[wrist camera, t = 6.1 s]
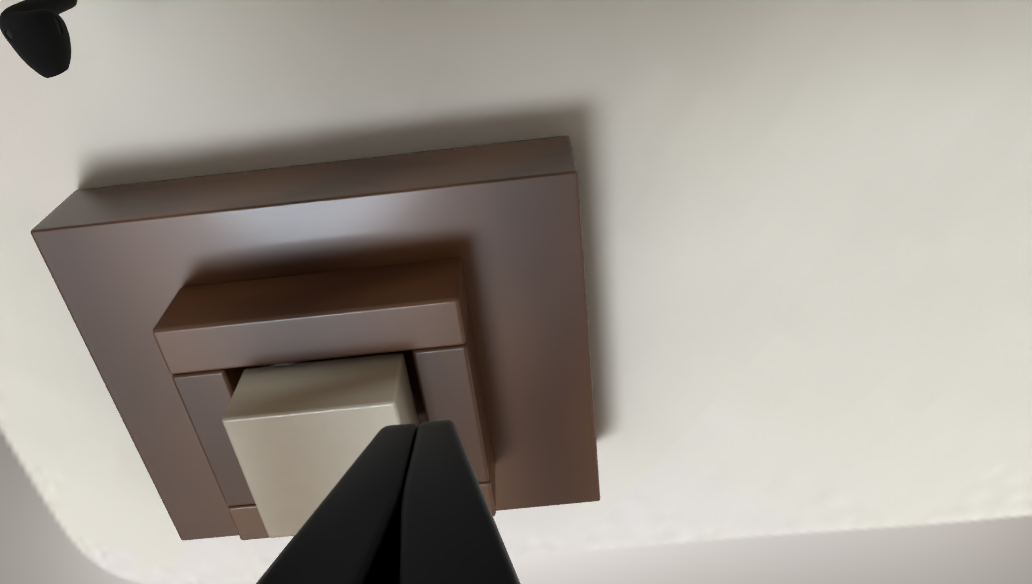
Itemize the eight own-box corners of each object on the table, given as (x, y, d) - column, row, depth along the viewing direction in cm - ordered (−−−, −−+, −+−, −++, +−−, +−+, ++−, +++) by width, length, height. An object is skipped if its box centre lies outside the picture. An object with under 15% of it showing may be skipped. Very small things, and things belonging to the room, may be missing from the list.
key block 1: (569, 134, 18) (587, 208, 15) (591, 446, 24) (608, 553, 20) (75, 189, 19) (-18, 272, 15) (205, 484, 24) (158, 595, 21)
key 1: (403, 350, 17) (395, 401, 16) (430, 468, 19) (424, 524, 17) (243, 367, 17) (219, 419, 16) (285, 483, 19) (268, 539, 18)
